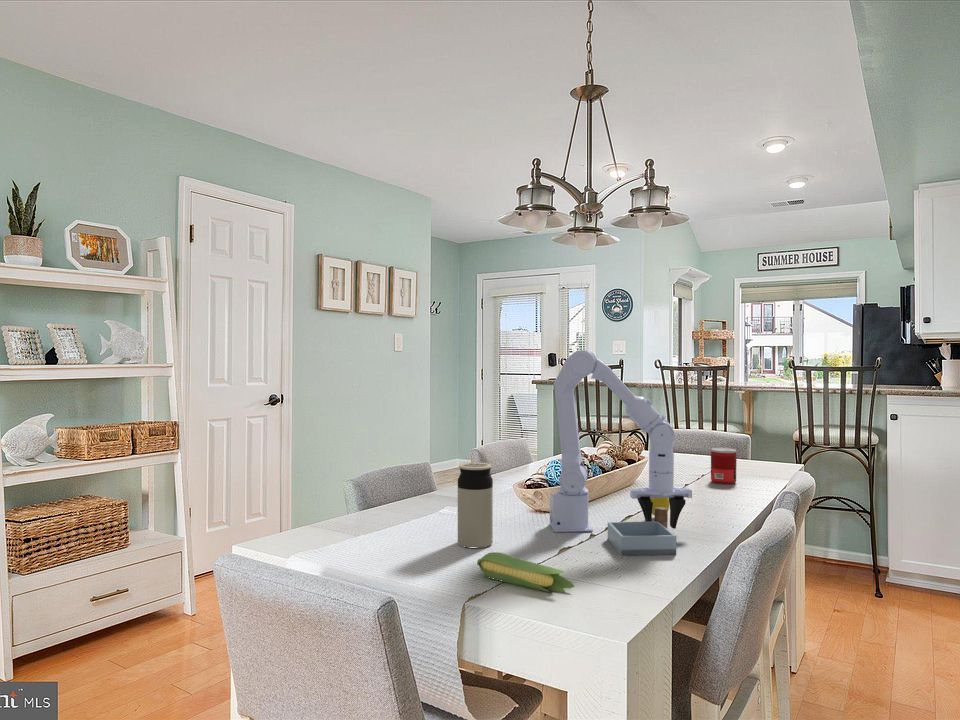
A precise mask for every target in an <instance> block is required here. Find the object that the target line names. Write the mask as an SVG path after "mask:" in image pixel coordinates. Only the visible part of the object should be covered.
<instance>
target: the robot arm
mask: <svg viewBox="0 0 960 720" xmlns="http://www.w3.org/2000/svg"><path fill="white" fill-rule="evenodd" d="M591 374H592V375H591ZM589 375H591V377H590V379H593V380H596V381H600V382H602V383H603V384H604V385H606V387H608V388H609V389H610V391H611V392H612V393H613V394H614V395H615V396H616V397H618V399H619V400H620V401H622V402H623V404H625V414H627V416H628V417H629V418H630V419H631V420H632V421H633V422H634V423H635V425H637V427H638V428H639V429H640V430H641V431H642V432H644V433H646V434H648V438H649V440H650V441H649V442H650V443H649V444H650V445H649V447H650V450H649V451H648V487H642V488H630V491H629V492H630V493H629V494H630V495H629V496H630V498H631V499H634V500H636V499H637V501H638V503H639V505H640V508H641V511H642V514H643V517H644V520H645V521H644V522H653V518H652V517H653V514H652V507H653V502H651V499H650V498H669V526H670V527H671V528H672V529H673V530H674V529H677V524H678V520H679V517H680V515H681V512H682V511H683V509H684V507H685V505H686V499H685V498H687V499H693V490H692V489H691V488H687V487H686V488H681V487H674V474H675V473H674V472H675V467H674V466H675V465H674V464H675V463H674V462H675V461H674V459H675V456H674V455H675V453H674V451H673V450H674V442H675V439H676V435H675V431H674V429H673V426H672V424H670V422H669V421H667V420H666V416H665V415H663V414H660V412H658V411H657V410H656V408H655V407H654V406H653V405H652V401H651V400H650V398H647V399H646V397H644V396H638V395H637V396H636V395H635V394H634V393H633V392H632V391H631V390H630V388H629V387H627V385H626V384H625V383H624V382H623V381H622V380H621V379H620V377H619V376H618V375H617V374H616V373H615V372H614V370H612V368H611V367H610V366H609V365H607V364H606V363H605V362H603V361H602V360H601V359H600V358H597V357H596V355H595V354H594V353H593V352H591V351H590V350H586V349H585V350H584V349H580V350H576V351H574V352H573V353H572V354H571V355H569V356H568V357H567V358H566V359H565V360H564V363H563V365H562V367H561V369H560V371H559V373H558V375H557V377H556V378H555V381H554V384H553V388H554V396H555V404H556V405H555V406H556V414H557V424H558V425H557V426H558V433H559V442H560V443H559V444H560V451H561V463H560V464H561V466H560V467H561V472H560V475H559V479H558V483H559V484H558V485H559V486H560V487H559V489H558V491H555V492H550V494H549V495H550V496H549V522H548V523H549V525H550V527H551V529H552V531H553V532H555V533H560V532H561V533H562V532H564V533H569V532H593V531H594V529H593V527H592V526H591V525H590V524H589V489H588V488H587V487H586V482H587V480H588V477H589V472H588V469H587V467H586V466H585V465H584V461H583V455H582V452H581V445H580V443H581V442H580V433H579V426H578V425H579V424H578V416H577V415H578V414H577V406H576V400H575V398H576V397H575V388H576V387H577V386H578V385H579V383H580V382H581V381H582V380H583V379H584V378H586V377H587V376H589Z"/></svg>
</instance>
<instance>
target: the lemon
mask: <svg viewBox="0 0 960 720" xmlns="http://www.w3.org/2000/svg"><path fill="white" fill-rule="evenodd" d="M650 499H651V502H653V507H652V516H655V508H656V507H663V508H667V509H668V511H670V504H669V498H650Z"/></svg>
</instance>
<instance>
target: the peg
mask: <svg viewBox="0 0 960 720" xmlns="http://www.w3.org/2000/svg"><path fill="white" fill-rule="evenodd" d="M668 512H669V510H668V509H667V508H663V507H656V508H655V515H654V521H658V522H660V523H661V524H662V525H663V526H665V527H666V528H667V529H668V520H669V519H668V516H669V515H668Z"/></svg>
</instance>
